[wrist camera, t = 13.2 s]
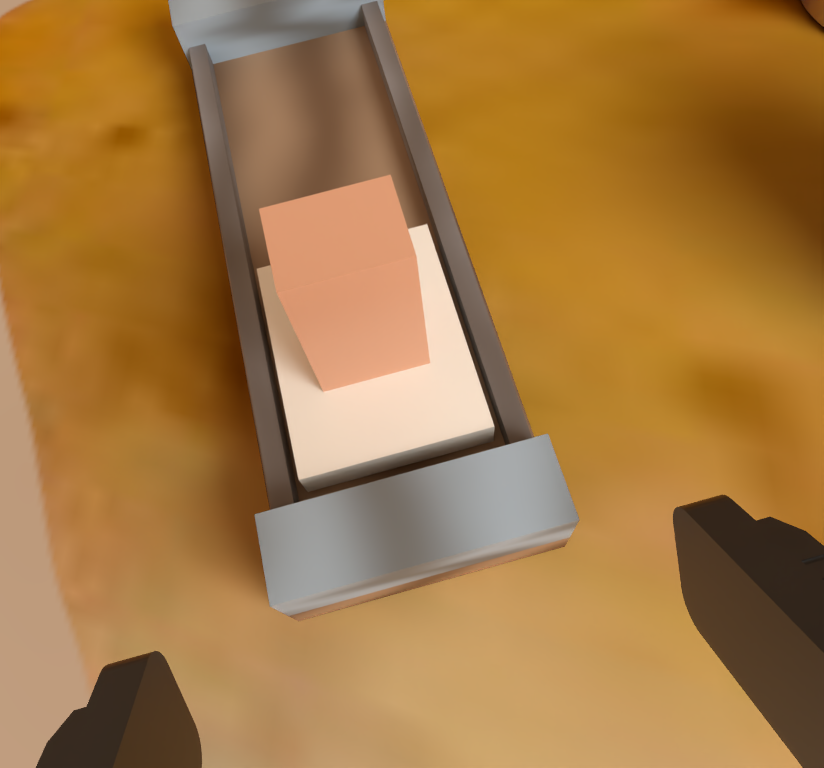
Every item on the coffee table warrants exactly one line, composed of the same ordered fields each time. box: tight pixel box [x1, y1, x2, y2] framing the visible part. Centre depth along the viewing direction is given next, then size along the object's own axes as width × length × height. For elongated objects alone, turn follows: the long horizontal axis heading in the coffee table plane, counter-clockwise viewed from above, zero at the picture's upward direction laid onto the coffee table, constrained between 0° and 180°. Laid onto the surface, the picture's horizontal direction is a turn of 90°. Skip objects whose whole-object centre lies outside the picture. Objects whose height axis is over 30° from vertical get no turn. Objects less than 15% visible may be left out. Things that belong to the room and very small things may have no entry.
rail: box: [168, 0, 579, 621], centre depth 30 cm, size 10×30×4 cm, turn 15°
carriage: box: [257, 175, 494, 492], centre depth 24 cm, size 7×9×8 cm
